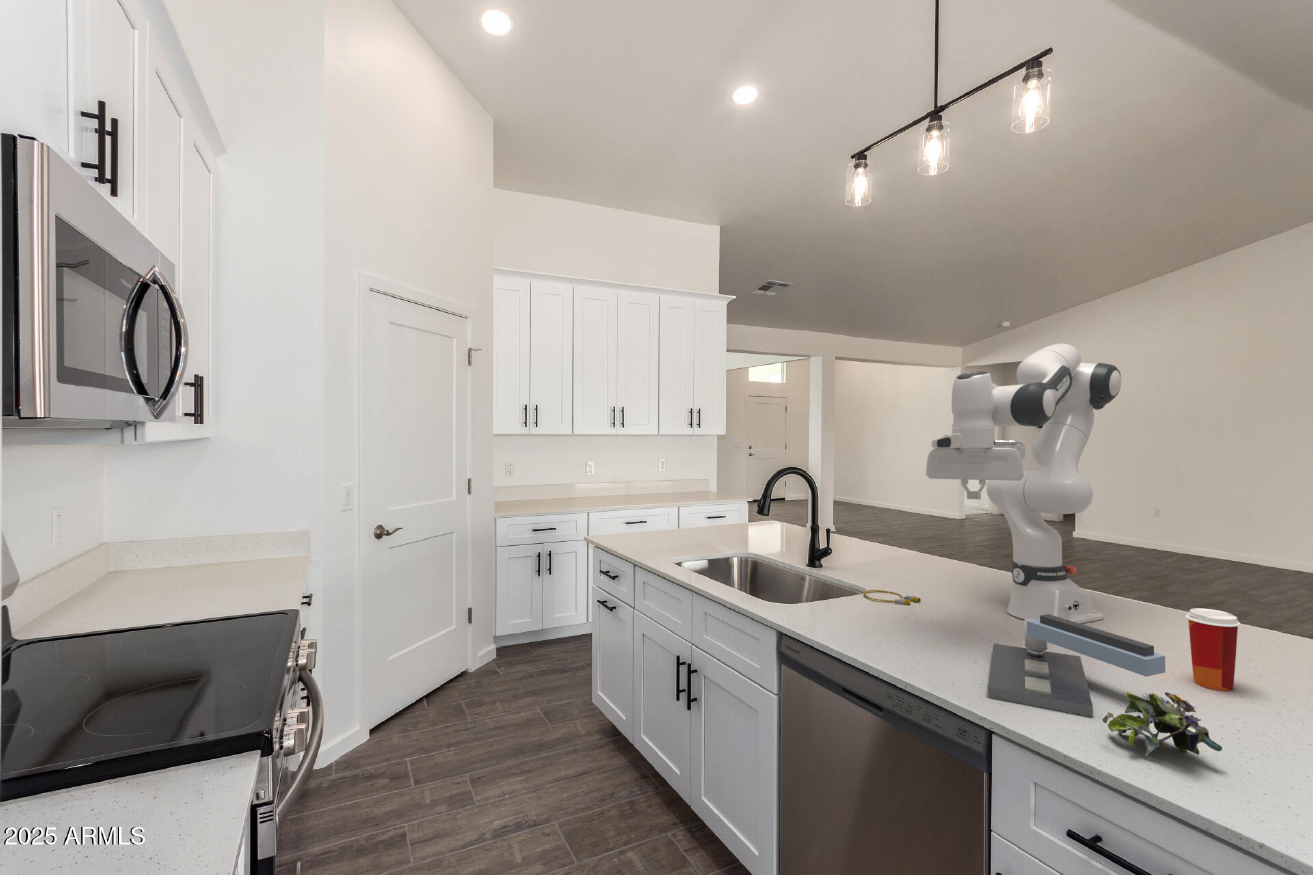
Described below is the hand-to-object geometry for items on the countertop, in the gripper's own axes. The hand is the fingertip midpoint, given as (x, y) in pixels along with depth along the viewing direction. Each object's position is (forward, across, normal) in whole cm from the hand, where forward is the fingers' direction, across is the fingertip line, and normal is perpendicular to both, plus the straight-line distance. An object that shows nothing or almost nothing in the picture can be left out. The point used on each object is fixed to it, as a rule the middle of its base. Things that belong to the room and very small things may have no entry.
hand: (973, 498), depth 139 cm
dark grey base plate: (+34, -12, +18) cm, 40 cm away
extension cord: (+35, +25, -29) cm, 51 cm away
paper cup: (+34, -41, +3) cm, 53 cm away
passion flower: (+34, -27, +39) cm, 59 cm away
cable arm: (+31, -20, +14) cm, 39 cm away
